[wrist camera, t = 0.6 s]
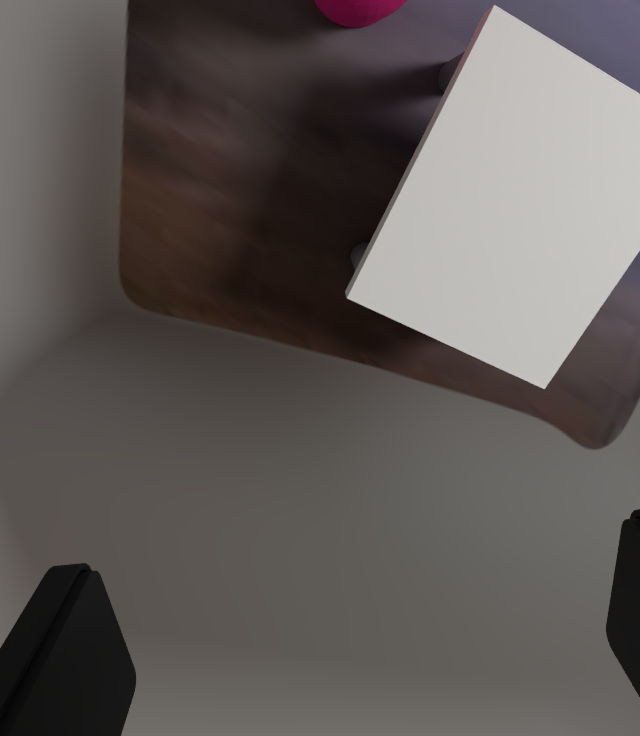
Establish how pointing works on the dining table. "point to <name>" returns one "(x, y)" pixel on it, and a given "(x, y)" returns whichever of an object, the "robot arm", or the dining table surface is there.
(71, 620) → the robot arm
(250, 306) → the dining table surface
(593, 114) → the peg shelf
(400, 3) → the pepper mill
